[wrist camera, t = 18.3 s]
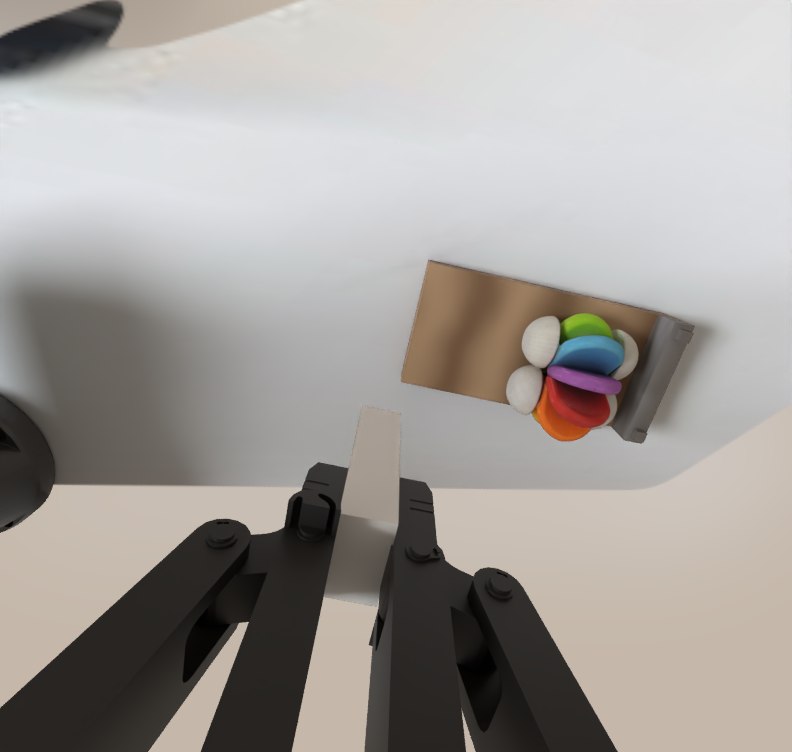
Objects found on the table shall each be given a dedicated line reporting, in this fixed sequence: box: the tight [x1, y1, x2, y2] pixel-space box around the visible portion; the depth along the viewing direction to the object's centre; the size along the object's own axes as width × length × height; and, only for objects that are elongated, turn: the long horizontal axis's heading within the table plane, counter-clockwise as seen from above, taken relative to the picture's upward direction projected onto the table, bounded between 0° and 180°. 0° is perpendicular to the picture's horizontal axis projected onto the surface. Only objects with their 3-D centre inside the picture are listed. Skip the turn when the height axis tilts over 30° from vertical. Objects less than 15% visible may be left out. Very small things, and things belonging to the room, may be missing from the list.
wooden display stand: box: [401, 260, 695, 444], centre depth 37 cm, size 20×10×5 cm, turn 78°
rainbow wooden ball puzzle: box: [506, 313, 639, 441], centre depth 35 cm, size 8×10×7 cm
